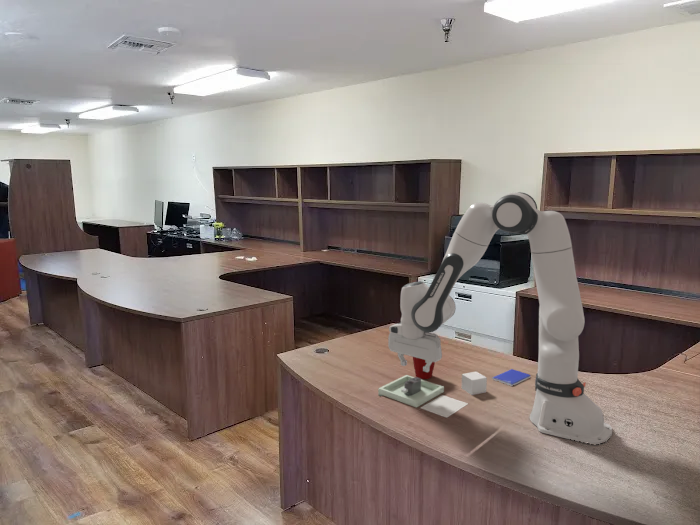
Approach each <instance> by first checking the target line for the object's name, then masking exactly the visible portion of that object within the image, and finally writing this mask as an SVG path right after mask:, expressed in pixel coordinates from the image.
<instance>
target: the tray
mask: <svg viewBox="0 0 700 525" xmlns="http://www.w3.org/2000/svg"><path fill="white" fill-rule="evenodd" d="M414 377H415V376H411V375H408V374H405V375H403V376H401V377H399V378H397V379H395V380H393V381H390V382H389V383H387V384H384V385H382V386H380V387H378V389H377V390H378V392H377V394H378V396H380V397H382V396H384V397H387V398H389V399H392V400H395V401H398V402H401V403H403V404H405V405H408V406H411V407H413V408H416V409H417V408H418V407H420V406H423V405H425V403H426V404H427V403H428V402H430V401H432V400H433V399H434V398H437V397H439V396H440V395H442V394H443V393H444V392H445V386H444V385H441V384H437V383H434V382H431V381H427V380H426V379H421V391H419V392H418V393H416V394H414V395H412V396H406V395H405V394H404V393H403V392H401V390H402V389H404V383H405V382H406V381H408V380H410V379H412V378H414Z"/></svg>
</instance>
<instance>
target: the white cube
mask: <svg viewBox="0 0 700 525" xmlns="http://www.w3.org/2000/svg"><path fill="white" fill-rule="evenodd" d="M487 380H488V377H486V376H485V375H484V374H481V373H479V372H478V371H471V372H467V373H466V372H465V373H462V374H461V389H462V390H463V391H465V392H466V393H467V394H469V395H471V396H474V395H480V394H483V393H484V394H485V393H487Z"/></svg>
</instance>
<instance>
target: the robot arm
mask: <svg viewBox="0 0 700 525" xmlns="http://www.w3.org/2000/svg"><path fill="white" fill-rule="evenodd" d="M499 230H501V231H504V232H506V233H510V234H511V233H512V234H519V235H527V238H528V241H529V246H530V253H531V260H532V268H533V274H534V281H535V284H536V285H535V286H536V290H537V291H536V292H537V295H538V303H539V306H538V359H537V360H538V361H537V373H536V374H535V381H534V388H535V389H534V391H535V397H534V401H533V406H532V409H531V412H530V414H529V420H530V421H531V423H532V424H533V425H535V427H537V429H538V431H539V432H540V433H542V434H547V435H550V436H555V437H558V438H563V439H566V440H570V439H571V440H570V441H574V440H575V442H579V441H581V442H580V443H583V442H588V443H591V444H599V443H602V442H605V441H606V442H608V441H609V440H610V439H611V437H612V435H613V427H612V426H611V424H610V423H607V422H605V417H604V412H603V410H602V408H601V407H600V406H599V405H598V404H596V403H595V402H594V401H593V399H591V398H590V397H589V396H588V395H587V394H585V393H584V392H585V387H586V382H585V381H584V382H583V383H582V382H581V381H580V379H579V377H578V376H579V364H580V363H579V361H580V351H579V349H580V348H579V347H580V346H579V336H580V335H581V334H582V332H583V330H584V327H585V315H584V308H583V302H582V296H581V292H580V288H579V287H580V286H579V282H578V278H577V272H576V265H575V258H574V252H573V251H574V250H573V245H572V244H573V243H572V239H571V235H570V231H569V228H568V224H567V221H566V219H565V217H564V216H563V214H562V213H560V212H559V211H555V210H544V211H543V210H539V209H538V205H537V201H536V200H535V198H533V197H532V196H531V195H530V194H528V193H525V192H521V191H519V192H510V193H507V194H505V195H504V196H502V197H500V198H499V199H498V200H496V202H495V203H494V204H493V205H491V204H489V203H485V202H474V203H472V204H471V205H470V206H469V207H468V208H467V209H466V211H465V212H464V214H463V215H462V216H461V219H460V220H459V222H458V224H457V226H456V228H455V230H454V232H453V234H452V237H451V239H450V241H449V244H448V247H447V250H446V252H445V255H444V257H443V259H442V262H441V264H440V266H439V268H438V269H437V272H436V274H435V275H434V278H433V280H432V281H431V284H430V285H429V286H428V285H427V284H426V283H425V282H423V281H414V282H408V283H407V284H404V285H403V286H402V287H401V291H400V301H399V302H400V304H399V306H400V312H401V317H400V322H398V323H394V324H391V325H390V326H389V327H388V331H389V333H388V342H387V343H388V344H387V345H388V349H389V350H390V352H393V353H397V357H398V358H399V361H400V366H402V367H406V366H408V360H407V359H406V358H405V356H409V357H412V358H413V357H416V358H420V359H424V360H425V362H426V363H427V364H426V365H425V366H423V371H424V372H429V370H430V365H431V363H432V362H435V363H437V362H438V361H441V359H442V358H443V352H442V350H443V349H442V345H441V338H440V336H438V334H437V333H436V331H437V330H438V329H439V328H440V327H441V326H442V325H443V324H445V323H446V322H448V320H450V319H451V318H452V317H453V316H454V315H455V312H456V308H457V307H456V302H455V300H454V299H453V298H452V296H450V294H451V292H452V290H453V288H454V287H455V284H456V283H457V281H458V280H460V278H461V277H462V276H463V275H464V274H465V273H467V271H469V270H471V268H473V267H474V266H476V264H478V263H479V261H480V260H481V258H482V257H483V256H484V255H485V252H486V251H487V249H488V247H489V245H490V242H491V241H492V239H493V238H494V235H495V233H496V232H498V231H499ZM434 332H435V333H434ZM610 436H611V437H610ZM609 438H610V439H609ZM608 439H609V440H608ZM607 440H608V441H607ZM606 442H605V443H606ZM591 444H590V445H591ZM599 445H600V444H599Z"/></svg>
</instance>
